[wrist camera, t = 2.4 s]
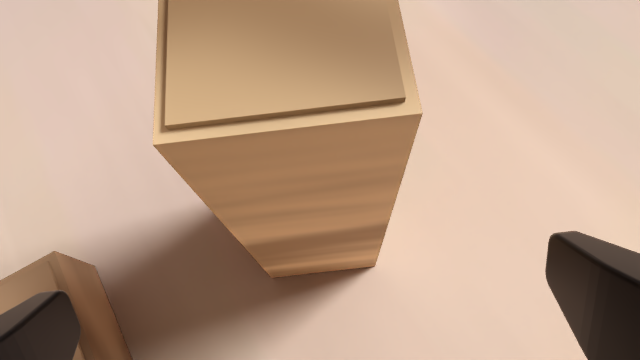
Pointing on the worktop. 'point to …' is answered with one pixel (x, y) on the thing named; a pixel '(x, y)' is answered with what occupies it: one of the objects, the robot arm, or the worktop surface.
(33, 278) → the square wooden tray
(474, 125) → the worktop surface
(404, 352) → the worktop surface
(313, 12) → the pillar block
